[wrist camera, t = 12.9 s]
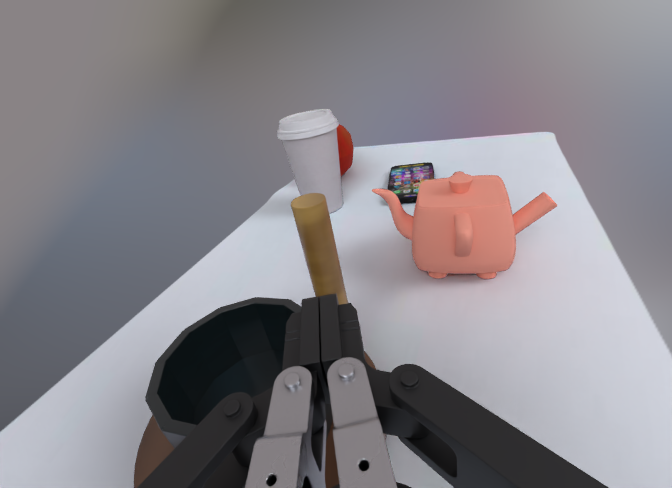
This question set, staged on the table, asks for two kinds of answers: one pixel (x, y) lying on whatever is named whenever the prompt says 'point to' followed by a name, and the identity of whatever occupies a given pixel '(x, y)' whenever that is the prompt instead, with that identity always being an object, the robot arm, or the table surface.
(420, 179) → the smartphone
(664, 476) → the table surface
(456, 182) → the teapot
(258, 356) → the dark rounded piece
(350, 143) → the apple
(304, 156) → the coffee cup
